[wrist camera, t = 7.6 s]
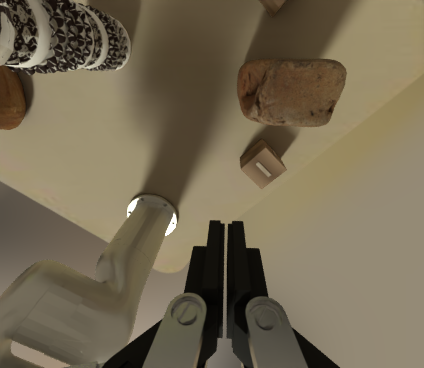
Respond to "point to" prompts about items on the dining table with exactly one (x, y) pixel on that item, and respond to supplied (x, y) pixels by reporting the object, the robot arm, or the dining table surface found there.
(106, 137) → the dining table surface
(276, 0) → the walnut cube
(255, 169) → the walnut cube
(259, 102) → the block
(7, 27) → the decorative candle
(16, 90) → the ceramic vessel
